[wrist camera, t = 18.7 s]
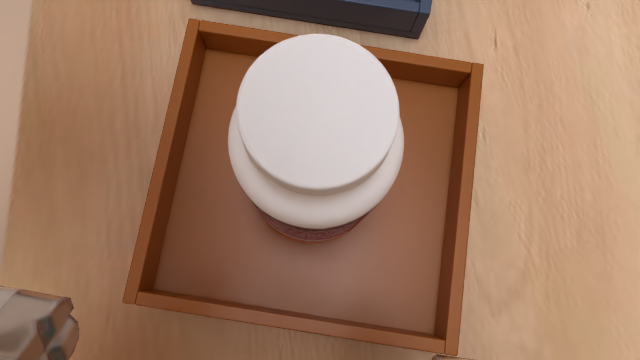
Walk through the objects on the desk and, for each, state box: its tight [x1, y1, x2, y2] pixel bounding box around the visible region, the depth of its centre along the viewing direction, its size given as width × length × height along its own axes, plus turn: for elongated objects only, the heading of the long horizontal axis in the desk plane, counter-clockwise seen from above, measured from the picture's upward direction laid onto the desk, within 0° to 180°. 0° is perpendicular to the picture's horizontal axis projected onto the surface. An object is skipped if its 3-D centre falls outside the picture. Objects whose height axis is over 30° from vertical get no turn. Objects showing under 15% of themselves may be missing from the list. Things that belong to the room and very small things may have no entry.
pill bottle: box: [228, 34, 404, 243], centre depth 18 cm, size 6×6×11 cm
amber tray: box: [123, 19, 484, 356], centre depth 23 cm, size 15×14×3 cm
